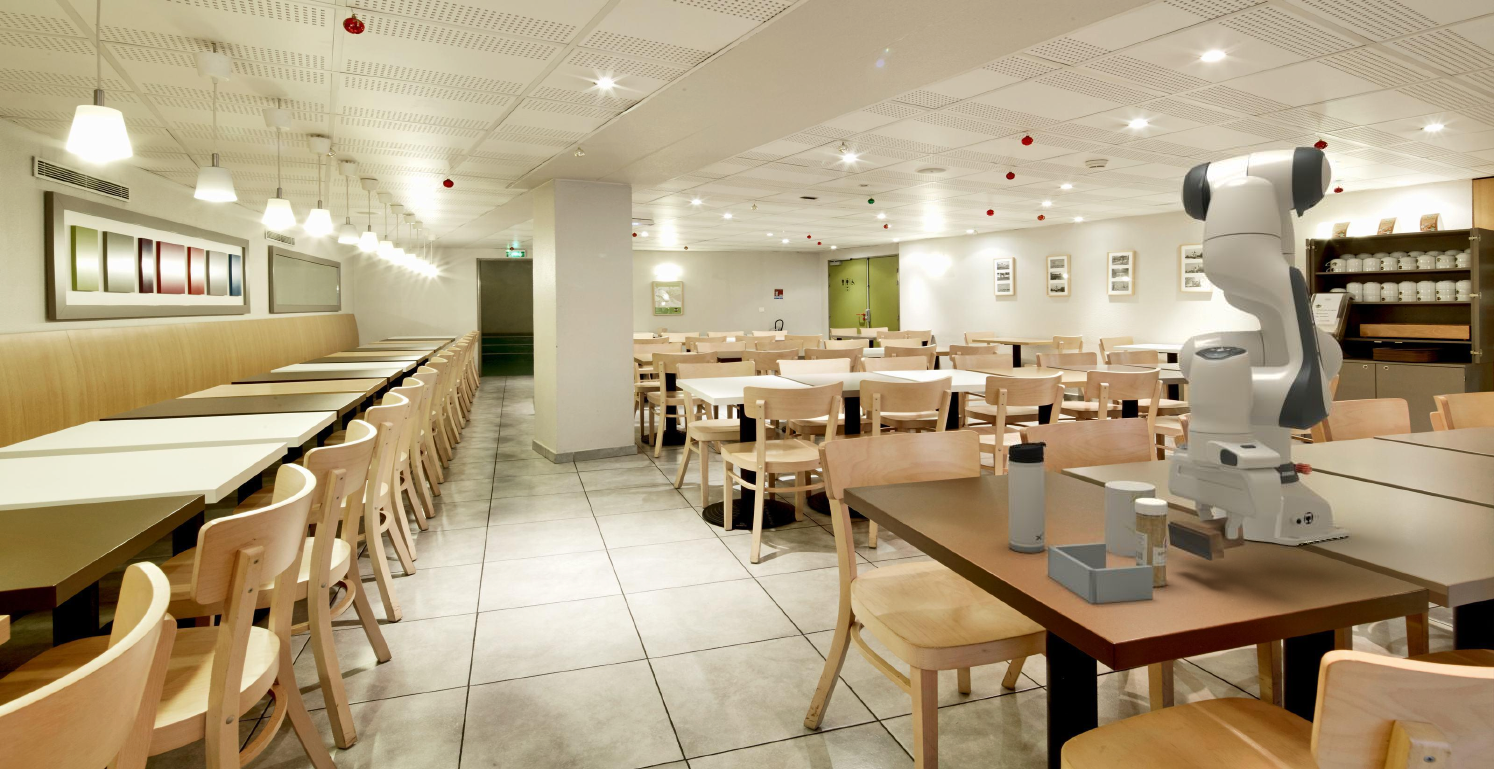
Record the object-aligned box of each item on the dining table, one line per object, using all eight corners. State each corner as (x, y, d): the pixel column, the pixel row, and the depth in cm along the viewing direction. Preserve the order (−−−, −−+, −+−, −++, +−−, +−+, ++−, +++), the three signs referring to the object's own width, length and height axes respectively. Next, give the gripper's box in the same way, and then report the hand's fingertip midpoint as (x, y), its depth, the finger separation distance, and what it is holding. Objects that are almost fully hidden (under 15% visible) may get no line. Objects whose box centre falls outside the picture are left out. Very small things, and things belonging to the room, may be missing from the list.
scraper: (1216, 535, 123) (1214, 512, 123) (1259, 550, 114) (1256, 525, 114) (1170, 544, 123) (1167, 521, 122) (1210, 560, 114) (1207, 535, 113)
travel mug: (1049, 553, 134) (1049, 445, 133) (1011, 552, 136) (1010, 445, 134) (1043, 543, 140) (1042, 439, 139) (1006, 542, 142) (1005, 440, 140)
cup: (1135, 559, 129) (1136, 492, 128) (1095, 548, 137) (1095, 484, 136) (1164, 551, 133) (1165, 486, 132) (1123, 541, 140) (1123, 478, 139)
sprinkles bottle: (1169, 588, 115) (1169, 504, 114) (1136, 585, 117) (1136, 502, 116) (1164, 579, 120) (1165, 497, 119) (1132, 576, 121) (1133, 496, 120)
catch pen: (1103, 571, 124) (1103, 542, 124) (1152, 598, 112) (1153, 566, 111) (1047, 575, 123) (1047, 546, 123) (1091, 603, 111) (1091, 571, 110)
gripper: (1158, 441, 128) (1157, 520, 129) (1251, 459, 107) (1250, 552, 108) (1191, 439, 128) (1191, 518, 129) (1290, 457, 108) (1289, 550, 109)
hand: (1219, 534), depth 119 cm, fingers closed on scraper, 3 cm apart
